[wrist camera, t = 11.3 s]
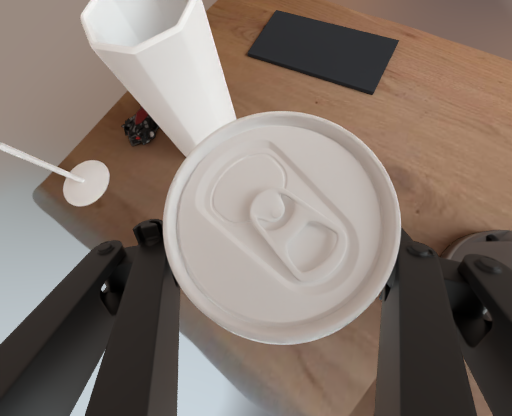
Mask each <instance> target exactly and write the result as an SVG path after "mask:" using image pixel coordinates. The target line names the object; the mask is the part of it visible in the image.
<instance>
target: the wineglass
mask: <svg viewBox="0 0 512 416" xmlns="http://www.w3.org/2000/svg"><path fill="white" fill-rule="evenodd" d="M0 150H2V151H5V152H7V153H10V154H12V155H15V156H17V157H19V158H22V159H24V160H27V161H29V162H31V163H34V164H36V165H38V166H41V167H43V168H46V169H48V170H51V171H53V172H55V173H58V174H60V175H63V176H65V177H66V180H65V182H64V187H63V193H64V197H65V199H66V200H67V202H69V203H70V204H72V205H74V206H86V205H89V204H91V203H93V202H95V201H96V200H97V199H99V198H100V197H101V196H102V195H103V193H104V192H105V190H106V189H107V186H108V184H109V176H110V174H109V171H108V168H107V167H106V166H105V164H104V163H102V162H100V161H96V160H89V161H85V162H83V163H81V164H78V165H77V166H76V167H75V168H73V169H72V170H71V172H68V171H65V170H63V169H61V168H59V167H56V166H54V165H52V164H50V163H47V162H45V161H43V160H41V159H38V158H36V157H34V156H31V155H29V154H27V153H25V152H22V151H20V150H18V149H16V148H13V147H11V146H9V145H6V144H4V143H2V142H0Z"/></svg>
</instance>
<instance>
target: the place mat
mask: <svg viewBox="0 0 512 416" xmlns="http://www.w3.org/2000/svg"><path fill="white" fill-rule="evenodd" d="M398 42H399V40H395V39H391V38H387V37H383V36H379V35H375V34H371V33H367V32H363V31H359V30H355V29H351V28H347V27H343V26H338V25H334V24H330V23H326V22H322V21H318V20H314V19H310V18H306V17H302V16H298V15H294V14H290V13H286V12H282V11H278V10H276V11H275V13H274V14H273V16H272V17H271V19H270V20H269V22H268V23H267V25H266V26H265V28H264V29H263V31H262V32H261V34H260V35H259V37H258V38H257V39H256V41H255V42H254V44H253V45H252V47H251V48H250V50H249V51H248V56H250V57H253V58H256V59H259V60H263V61H266V62H269V63H272V64H275V65H279V66H282V67H285V68H288V69H291V70H295V71H298V72H301V73H304V74H307V75H310V76H314V77H317V78H320V79H323V80H326V81H330V82H333V83H336V84H339V85H342V86H346V87H349V88H352V89H355V90H358V91H361V92H365V93H368V94H371V95H373V93H374V91H375V89H376V87H377V85H378V83H379V81H380V79H381V76H382V74H383V72H384V70H385V68H386V66H387V64H388V62H389V60H390V58H391V56H392V54H393V52H394V50H395V48H396V46H397V44H398Z"/></svg>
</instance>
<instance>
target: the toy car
mask: <svg viewBox="0 0 512 416" xmlns="http://www.w3.org/2000/svg"><path fill="white" fill-rule="evenodd" d="M121 127H122V128H124V130H125V135H126V136H127V135H128V136H129V140H130V143H131V145H132V146H134V145H137V144H140V143H141V142H143V145H144V144H145V143H148V142H149V141H150V139H153V138H154V137H155V132H156V130H157V129H158V128H159V126H158V124H157V123H156V122H155V121H154V120H153V119H152V117H151V116H150V115H149V114H148V113H147V112H146V111H145V109H144V108H143V107H141V108H140V109H139V110H138V111H137V113H136V114H135V115H134V116H133V117H131V118H130V120H129V118H128V120H127V121H126V120H125V124H123V125H122V126H121ZM151 128H152V129H151ZM153 129H154V130H155V131H154V130H153Z"/></svg>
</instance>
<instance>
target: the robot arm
mask: <svg viewBox="0 0 512 416" xmlns="http://www.w3.org/2000/svg"><path fill="white" fill-rule="evenodd" d="M133 232H134V234H135V236H136V239H137V241H138V245H137V246H132V247H126V248H124V247H123V245H122V243H121V242H120V241H116V240H113V241H107V242H105V243H101V244H100V245H98V246H96V247H95V248H94V249H92V250H91V251H90V253H88V254H87V255H86V256H85V258H83V259H82V261H81V262H80V263H79V264H78V265H77V266H76V267H75V268H74V269H73V270H72V271H71V272H70V273H69V274H68V275H67V276H66V277H65V278H64V279H63V280H62V281H61V282H60V283H59V284H58V285H57V286H56V287H55V289H53V291H52V292H51V293H50V294H49V295H48V296H47V297H46V298H45V299H44V300H43V301H42V302H41V303H40V304H39V305H38V306H37V307H36V308H35V309H34V310H33V311H32V312H31V313H30V314H29V315H28V316H27V317H26V318H25V320H24V321H23V322H22V323H21V324H20V325H19V326H18V327H17V328H16V329H15V330H14V331H13V332H12V333H11V334H10V335H9V336H8V337H7V338H6V339H5V340H4V341H3V342H2V343H1V344H0V416H70V414H71V412H72V410H73V408H74V406H75V405H76V403H77V401H78V399H79V397H80V395H81V394H82V392H83V390H84V388H85V386H86V384H87V382H88V380H89V379H90V377H91V375H92V373H93V371H94V369H95V367H96V366H97V364H98V362H99V360H100V358H101V356H102V354H103V353H104V351H105V353H104V356H103V359H102V362H101V365H100V369H99V372H98V375H97V378H96V381H95V385H94V388H93V391H92V394H91V397H90V401H89V404H88V407H87V410H86V413H85V416H177V390H178V387H177V386H178V349H179V308H180V286H179V284H178V282H177V280H176V279H175V277H174V275H173V272H172V270H171V267H170V265H169V262H168V259H167V255H166V251H165V246H164V239H163V221H162V220H159V219H150V220H147V221H144V222H141V223H139V224H138V225H136V226H135V227H134V229H133ZM104 283H105V285H106V286H107V287H106V288H105V290H104V291H103V292H102V291H101V288H102V286H103V284H104ZM379 300H382V310H381V324H380V339H379V354H378V368H377V383H376V397H375V412H374V416H477V413H476V409H475V405H474V401H473V397H472V393H471V389H470V385H469V380H468V376H467V372H466V368H465V364H464V360H463V357H464V359H465V361H466V363H467V365H468V367H469V369H470V371H471V373H472V375H473V377H474V379H475V381H476V383H477V385H478V387H479V389H480V391H481V392H482V394H483V396H484V398H485V400H486V402H487V404H488V406H489V408H490V410H491V412H492V414H493V416H512V231H510V230H493V231H486V232H480V233H474V234H470V235H467V236H464V237H462V238H460V239H458V240H456V241H455V242H453V243H452V244H451V245H450V246H449V247H448V248H447V249H446V250H445V251H444V252H443V254H442V255H441V257H438V255H437V253H436V252H435V251H434V250H433V249H432V248H430V247H428V246H427V245H425V244H422V243H419V242H415V241H413V240H412V239H411V238H410V237H409V235H408V234H407V233H406V232H405V231H404V230H403V229H402V227H401V238H400V245H399V251H398V255H397V259H396V262H395V265H394V267H393V270H392V272H391V275H390V277H389V279H388V280H387V282H386V284H385V286H384V287H383V290H382V292H381V295H380V298H379ZM105 349H106V350H105ZM462 355H463V356H462Z"/></svg>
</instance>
